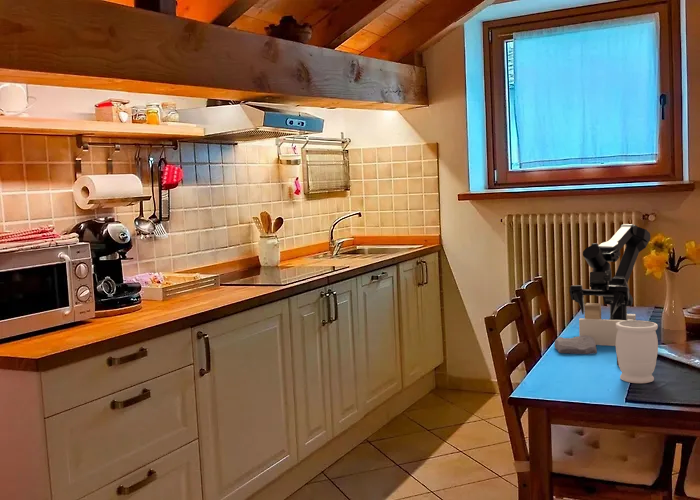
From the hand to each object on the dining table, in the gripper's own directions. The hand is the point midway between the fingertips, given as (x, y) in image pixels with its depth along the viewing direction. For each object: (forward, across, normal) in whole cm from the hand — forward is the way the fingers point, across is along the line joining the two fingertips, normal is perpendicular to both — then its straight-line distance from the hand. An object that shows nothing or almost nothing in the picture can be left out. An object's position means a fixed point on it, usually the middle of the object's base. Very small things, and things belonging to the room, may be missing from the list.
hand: (597, 314), depth 245 cm
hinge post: (+14, +12, -4) cm, 18 cm away
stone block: (+21, -3, -10) cm, 23 cm away
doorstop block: (+10, 0, 0) cm, 11 cm away
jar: (+40, +16, -30) cm, 52 cm away
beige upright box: (+13, +3, -3) cm, 14 cm away
